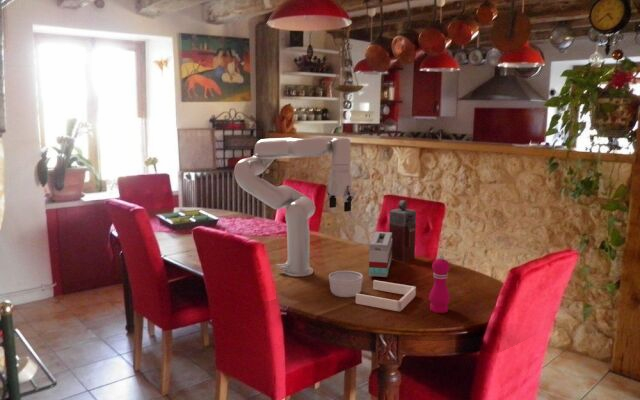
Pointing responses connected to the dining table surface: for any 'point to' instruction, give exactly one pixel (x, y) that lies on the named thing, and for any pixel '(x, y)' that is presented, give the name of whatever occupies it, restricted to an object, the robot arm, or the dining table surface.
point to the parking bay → (385, 303)
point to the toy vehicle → (380, 254)
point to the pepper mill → (440, 286)
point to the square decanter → (403, 232)
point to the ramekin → (345, 283)
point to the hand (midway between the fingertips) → (339, 209)
